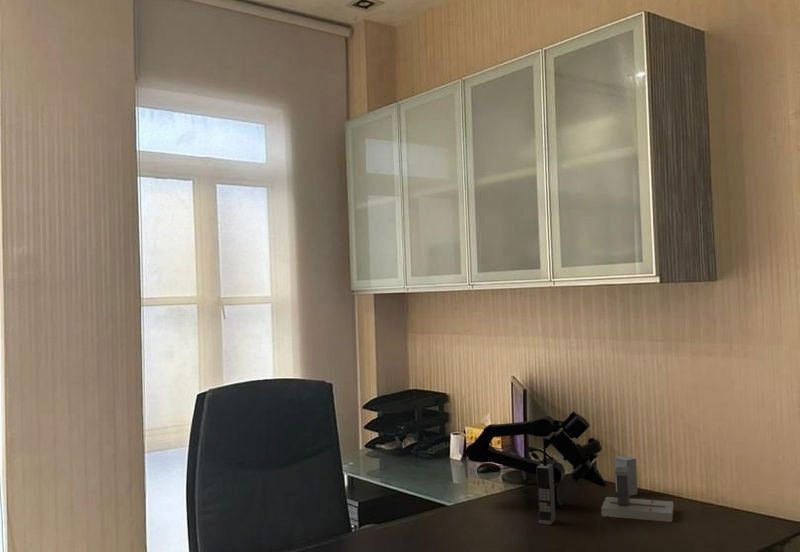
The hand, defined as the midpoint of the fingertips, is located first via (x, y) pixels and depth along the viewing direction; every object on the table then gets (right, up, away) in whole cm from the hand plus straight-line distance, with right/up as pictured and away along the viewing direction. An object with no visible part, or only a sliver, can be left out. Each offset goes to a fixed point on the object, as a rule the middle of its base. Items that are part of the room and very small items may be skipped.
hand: (605, 485), depth 220 cm
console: (+9, -7, -4) cm, 12 cm away
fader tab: (+5, -5, -2) cm, 7 cm away
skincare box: (+12, -8, +17) cm, 22 cm away
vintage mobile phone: (-20, -8, -9) cm, 23 cm away
